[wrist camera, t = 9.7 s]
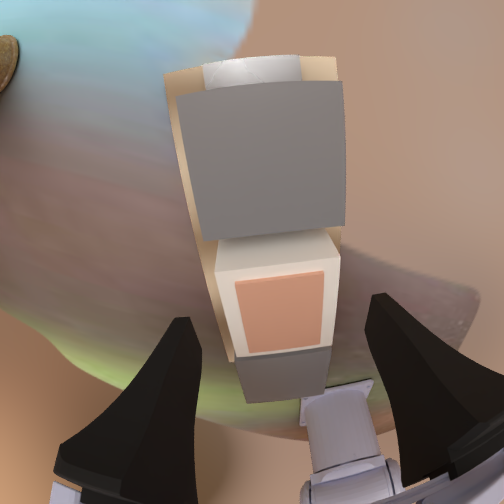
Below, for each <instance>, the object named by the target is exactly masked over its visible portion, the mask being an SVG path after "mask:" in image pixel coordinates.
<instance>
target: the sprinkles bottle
mask: <svg viewBox="0 0 504 504" xmlns="http://www.w3.org/2000/svg"><path fill="white" fill-rule="evenodd" d="M17 58H18V45H17V41H16V39H15V38H14V37H13V36H11V35H3V36H0V92H1V91H2V90H3V89H4V88H5V87H6V85H7V84H8V83H9V81H10V79H11V77H12V75H13V72H14V69H15V66H16V63H17Z"/></svg>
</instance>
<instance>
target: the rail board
mask: <svg viewBox="0 0 504 504" xmlns="http://www.w3.org/2000/svg"><path fill="white" fill-rule="evenodd" d="M163 76H164V83H165V89H166V96H167V102H168V108H169V114H170V120H171V125H172V131H173V136H174V142H175V147H176V152H177V157H178V163H179V168H180V172H181V177H182V182H183V187H184V191H185V196H186V201H187V205H188V210H189V214H190V218H191V223H192V227H193V231H194V235H195V240H196V244H197V248H198V252H199V256H200V260H201V264H202V268H203V271H204V275H205V279H206V283H207V287H208V290H209V294H210V298H211V301H212V305H213V309H214V312H215V316H216V319H217V323H218V326H219V330H220V333H221V336H222V340H223V343H224V346H225V350H226V353H227V356H228V359H229V362H235V365H236V369H237V372H238V376H239V379H240V382H241V386H242V389H243V392H244V396H245V399H246V402H247V404H249V403H262V402H272V401H281V400H290V399H297V398H304V397H311V396H317V395H323V394H324V391H325V386H326V381H327V375H328V370H329V364H330V358H331V352H332V348H331V345H330V346H324V347H318V348H312V349H305V350H298V351H291V352H284V353H275V354H267V355H257V356H247V357H237V356H236V353H235V349H234V346H233V342H232V338H231V335H230V331H229V327H228V324H227V320H226V316H225V312H224V309H223V305H222V301H221V297H220V293H219V289H218V285H217V281H216V277H215V273H214V271H215V263H216V256H217V249H218V242H219V240H221V239H229V238H238V237H246V236H255V235H263V234H272V233H281V232H290V231H299V230H309V229H318V228H325V229H326V231H327V233H328V234H329V236H330V238H331V240H332V242H333V243H334V245H335V247H336V249H337V251H338V253H339V254H340V239H341V226H344V225H345V202H346V201H345V200H346V143H345V141H346V140H345V116H344V100H343V87H342V81H338V76H337V66H336V57H318V56H303V57H302V56H299V55H277V56H262V57H250V58H241V59H232V60H225V61H218V62H212V63H206V64H202V66H199V67H194V68H189V69H184V70H180V71H175V72H171V73H167V74H163Z"/></svg>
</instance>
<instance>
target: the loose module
mask: <svg viewBox="0 0 504 504" xmlns="http://www.w3.org/2000/svg"><path fill="white" fill-rule="evenodd" d="M340 259H341V256H340V254H339V253H338V251H337V249H336V247H335V245H334V243H333V242H332V240H331V238H330V236H329V234H328V233H327V231H326V229H325V228H318V229H309V230H299V231H290V232H281V233H272V234H263V235H255V236H246V237H238V238H229V239H221V240H219V242H218V249H217V256H216V263H215V271H214V273H215V277H216V281H217V285H218V289H219V293H220V297H221V301H222V305H223V309H224V312H225V316H226V320H227V324H228V327H229V331H230V335H231V338H232V342H233V346H234V349H235V353H236V356H237V357H247V356H257V355H267V354H275V353H284V352H291V351H298V350H305V349H312V348H318V347H324V346H330V345H332V341H333V333H334V325H335V316H336V307H337V297H338V286H339V274H340Z"/></svg>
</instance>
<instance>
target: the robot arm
mask: <svg viewBox="0 0 504 504" xmlns="http://www.w3.org/2000/svg"><path fill="white" fill-rule="evenodd" d="M364 330H365V334H366V338H367V341H368V345H369V348H370V351H371V354H372V356H373V359H374V361H375V364H376V366H377V369H378V371H379V374H380V376H381V379H382V381H383V384H384V386H385V389H386V391H387V394H388V397H389V400H390V404H391V408H392V412H393V417H394V421H395V426H396V431H397V437H398V445H399V453H400V467H401V470H400V467H399V465H398V463H397V461H395V460H392V459H391V458H388V459H386V460H385V459H384V455H381V452H380V448H379V444H378V440H377V436H376V433H375V429H374V425H373V422H372V418H371V415H370V412H369V408H368V405H367V401H366V398H367V396H368V394H369V392H370V390H371V388H372V386H373V383H374V382H373V380H372V379H369V380H365V381H361V382H356V383H352V384H347V385H342V386H337V387H332V388H327V389H325V391H324V394H323V395H317V396H311V397H304V398H301V406H300V420H299V425H300V426H307V432H308V438H309V445H310V452H311V459H312V466H313V473H314V474H311V475H310V480H309V481H306V482H305V484H304V485H303V486H302V488H301V491H300V504H412V503H414V502H416V501H417V502H416V504H499V503H500V502H501V501H502V500H503V499H504V375H502V374H499V373H497V372H494V371H492V370H490V369H488V368H486V367H484V366H482V365H480V364H478V363H476V362H475V361H473V360H471V359H469V358H467V357H466V356H464V355H463V354H461V353H459V352H458V351H456V350H455V349H453V348H452V347H450V346H449V345H448V344H446V343H445V342H443V341H442V340H441V339H440V338H438V337H437V336H436V335H434V334H433V333H432V332H431V331H429V330H428V329H427V328H426V327H424V326H423V325H422V324H421V323H420V322H419V321H417V320H416V319H415V318H414V317H413V316H412V315H411V314H409V313H408V312H407V311H406V310H405V309H404V308H403V307H401V306H400V305H399V304H398V303H397V302H396V301H395V300H394V299H392V298H391V297H390V296H389V295H388V294H387V293H380V294H374V295H372V298H371V302H370V307H369V312H368V316H367V321H366V325H365V329H364ZM201 370H202V348H201V346H200V343H199V341H198V338H197V335H196V333H195V330H194V327H193V325H192V322H191V319H190V317H179V318H174V320H173V321H172V323H171V324H170V326H169V327H168V329H167V331H166V332H165V334H164V335H163V337H162V339H161V340H160V342H159V343H158V345H157V346H156V348H155V349H154V351H153V352H152V354H151V355H150V357H149V358H148V360H147V361H146V363H145V364H144V365H143V367H142V368H141V370H140V371H139V372H138V374H137V375H136V376H135V378H134V379H133V380H132V381H131V383H130V384H129V385H128V386H127V388H126V389H125V390H124V391H123V392H122V393H121V394H120V396H119V397H118V398H117V399H116V400H115V401H114V402H113V403H112V404H111V405H110V406H109V407H108V408H107V409H106V410H105V411H104V412H103V413H102V414H101V415H100V416H98V417H97V418H96V419H95V420H94V421H92V422H91V423H90V424H89V425H88V426H87V427H85V428H84V429H83V430H81V431H80V432H79V433H77V434H76V435H74V436H73V437H71V438H70V439H68V440H67V441H65V442H64V443H62V444H60V447H59V451H58V454H57V458H56V462H55V466H54V470H53V472H54V473H55V474H56V475H58V476H59V477H61V478H64V479H66V480H67V481H70V482H72V483H74V484H77V485H79V486H81V487H82V492H80V491H77V490H75V489H72V488H70V487H68V486H65V485H63V484H61V483H59V482H56V481H54V482H53V487H52V492H51V497H50V503H49V504H198V498H197V489H196V479H195V462H194V424H195V414H196V407H197V400H198V393H199V386H200V379H201ZM428 477H429V478H430V481H428V482H426V483H424V484H421V485H419V486H417V487H414V488H412V489H409V490H407V491H405V487H407V486H410V485H412V484H415V483H417V482H419V481H421V480H424V479H426V478H428Z"/></svg>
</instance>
